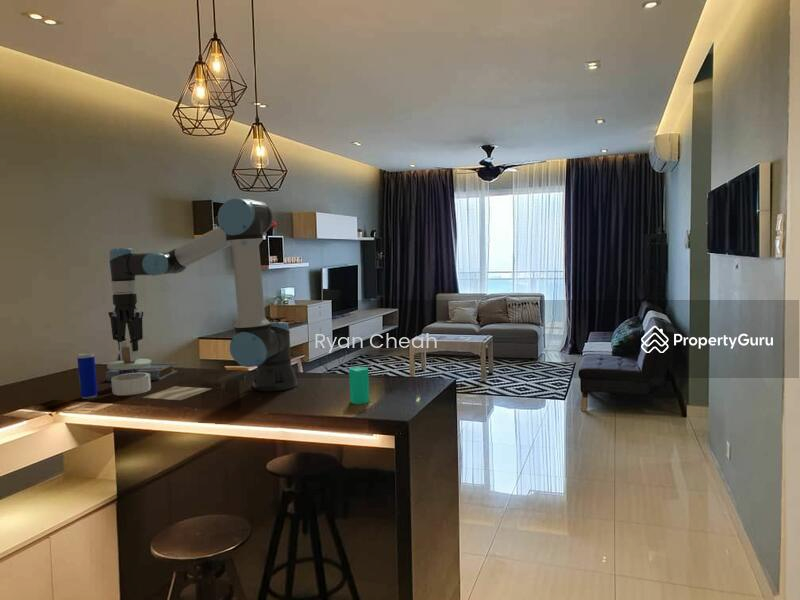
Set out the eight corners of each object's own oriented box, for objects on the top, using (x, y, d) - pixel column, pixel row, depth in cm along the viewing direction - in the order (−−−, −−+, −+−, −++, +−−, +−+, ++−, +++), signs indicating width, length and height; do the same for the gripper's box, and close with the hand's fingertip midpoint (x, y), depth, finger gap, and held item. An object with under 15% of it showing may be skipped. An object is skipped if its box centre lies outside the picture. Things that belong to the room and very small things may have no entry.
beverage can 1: (84, 395, 208) (81, 353, 206) (100, 394, 208) (96, 352, 207) (78, 399, 202) (74, 355, 201) (93, 398, 203) (90, 354, 201)
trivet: (212, 390, 208) (212, 388, 208) (180, 402, 193) (180, 400, 193) (175, 388, 213) (175, 386, 213) (141, 399, 198) (141, 397, 198)
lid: (160, 362, 212) (158, 344, 212) (130, 370, 199) (128, 351, 198) (129, 361, 217) (127, 343, 216) (97, 369, 204) (96, 349, 203)
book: (106, 382, 230) (105, 370, 230) (128, 373, 246) (127, 361, 246) (158, 381, 228) (157, 368, 228) (178, 372, 245) (177, 360, 244)
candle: (346, 402, 185) (344, 364, 184) (358, 398, 190) (356, 360, 189) (361, 404, 182) (360, 365, 181) (373, 400, 187) (372, 362, 186)
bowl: (158, 389, 212) (157, 373, 212) (132, 398, 201) (131, 380, 201) (131, 388, 216) (130, 371, 216) (105, 396, 205) (103, 379, 205)
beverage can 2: (132, 387, 218) (129, 355, 217) (114, 387, 219) (112, 355, 218) (144, 383, 225) (141, 351, 224) (127, 382, 226) (124, 351, 225)
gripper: (151, 292, 206) (156, 359, 208) (114, 292, 212) (119, 357, 214) (135, 294, 199) (140, 363, 201) (97, 294, 205) (102, 361, 207)
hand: (129, 360), depth 208 cm, fingers closed on lid, 4 cm apart
